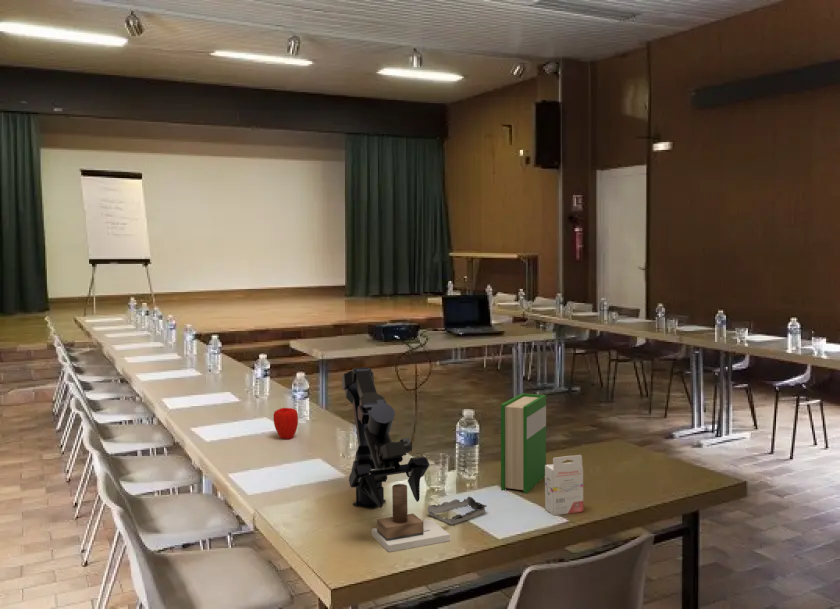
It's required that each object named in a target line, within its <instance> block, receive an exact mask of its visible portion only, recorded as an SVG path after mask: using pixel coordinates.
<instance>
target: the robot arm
mask: <svg viewBox="0 0 840 609" xmlns="http://www.w3.org/2000/svg"><path fill="white" fill-rule="evenodd" d="M374 375H375V374H374V372H373V371H372V368H370V367H369V366H367V367H354V368H352V369H351V370H350V371H348V372H345V373H343V375H342V377H341V388H342V390H344V394H345V398H346V399H347V400H348V402H350V403H351V404H352V408H353V415H354V424H355V429H356V431H355V432H356V437H357V444H358V446H357V448H356V449H357V450H356V452H355V457H354V461H353V462H352V467H351V472H350V474H349V477H348V481H349V485H350V487H351V488H355V501H354V502H352V505H353V506H356V507H360V508H365V509H366V508H367V509H373V510H374V509H376V508H377V507H378V508H379V509H382V508H383V504H384V503H386V499H384V497H385V496H384V494H385V493H384V491H385V490H384V487H383V483H387V481H388V476H394V475H399V474H406V477H407V478H408V479H407V483H408V486H409V488H410V489H411V490H410V491H411V493H412V496H413V498H414V500H415V501H416V502H419V501H420V496H421V495H420V491H421V490H420V489H421V486H420V484H421V478H422V477H424V475H425V473H426V472H427V470H428V469H429V466H430V462H429V460H428V458H427V457H426V456H424V455H422V456H415V457H414V456H413V457H410V459H409V461H408V462H407V463H405V464H404V463H403V464H400V463H401V462H403V460H404V459H403V456H407V453H410V452H411V451H413V445H412V441H411V440H410V439H411V438H410V437H405V438H401V439H399V441H396V442H395V441H392V438H391V435H390V433H391V432H392V431H391V430H392V427H393V424H394V419H395V416H396V414H395V413H396V412H395V410H394V408H393V407H392V406H391V405H390V404H389V403H387V400H386V399H385V397H384V396H382V394H378V391H377V389H376V386H375V376H374Z"/></svg>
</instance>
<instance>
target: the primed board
mask: <svg viewBox="0 0 840 609" xmlns="http://www.w3.org/2000/svg"><path fill="white" fill-rule="evenodd" d="M421 520H422V521H423V535H418V536H413V537H407V538H401V539H395V540H390V541H386V540H385V539H384V538H383V537H382V536H381V535H380V534H379V533H378V532H377V527H374V528H371V536H372V537H373V538H374V539H375V541H376V542H378V543H379V544H380V545H381V546H382V547H383V548H384V549H385V550H386V551H387V552H388V553H390V552H396V551H402V550H407V549H408V550H409V549H414V548H418V547H419V548H420V547H424V546H429V545H435V544H441V543H446V542H450V540H451V534H450V533H448V531H446V530H445V529H443V528H442V527H441V526H440V525H438V524H437V523H436V522H434V521H433V520H432V519H431V518H429V519H421Z"/></svg>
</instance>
